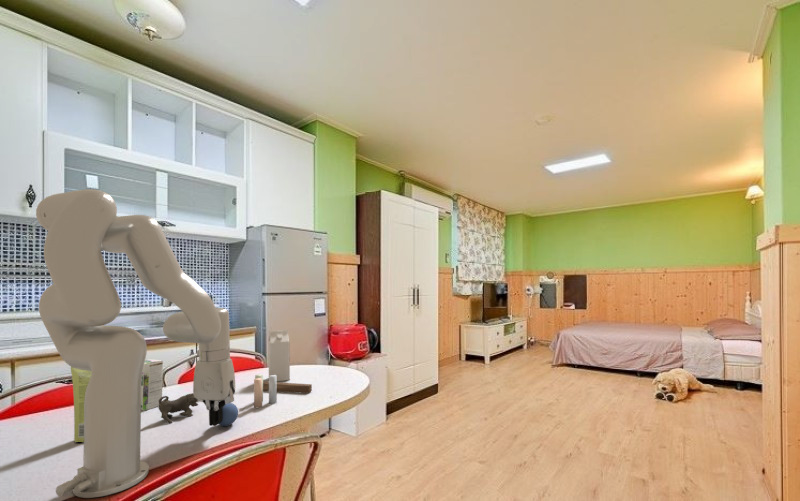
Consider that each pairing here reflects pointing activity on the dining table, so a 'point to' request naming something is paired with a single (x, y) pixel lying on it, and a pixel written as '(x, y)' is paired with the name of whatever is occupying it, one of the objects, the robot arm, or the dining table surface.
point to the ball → (229, 414)
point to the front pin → (258, 392)
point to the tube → (79, 400)
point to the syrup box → (151, 384)
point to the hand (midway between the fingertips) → (216, 423)
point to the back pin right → (272, 389)
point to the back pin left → (262, 382)
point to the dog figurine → (177, 406)
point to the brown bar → (290, 387)
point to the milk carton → (279, 355)
